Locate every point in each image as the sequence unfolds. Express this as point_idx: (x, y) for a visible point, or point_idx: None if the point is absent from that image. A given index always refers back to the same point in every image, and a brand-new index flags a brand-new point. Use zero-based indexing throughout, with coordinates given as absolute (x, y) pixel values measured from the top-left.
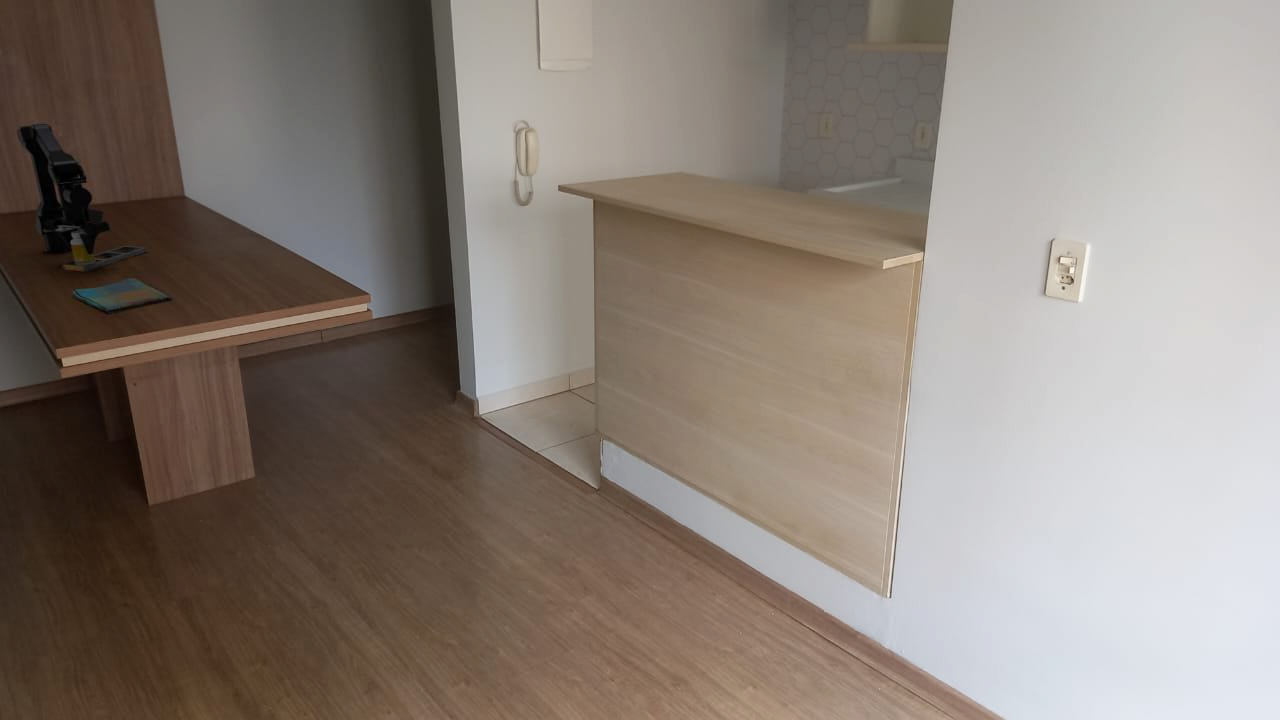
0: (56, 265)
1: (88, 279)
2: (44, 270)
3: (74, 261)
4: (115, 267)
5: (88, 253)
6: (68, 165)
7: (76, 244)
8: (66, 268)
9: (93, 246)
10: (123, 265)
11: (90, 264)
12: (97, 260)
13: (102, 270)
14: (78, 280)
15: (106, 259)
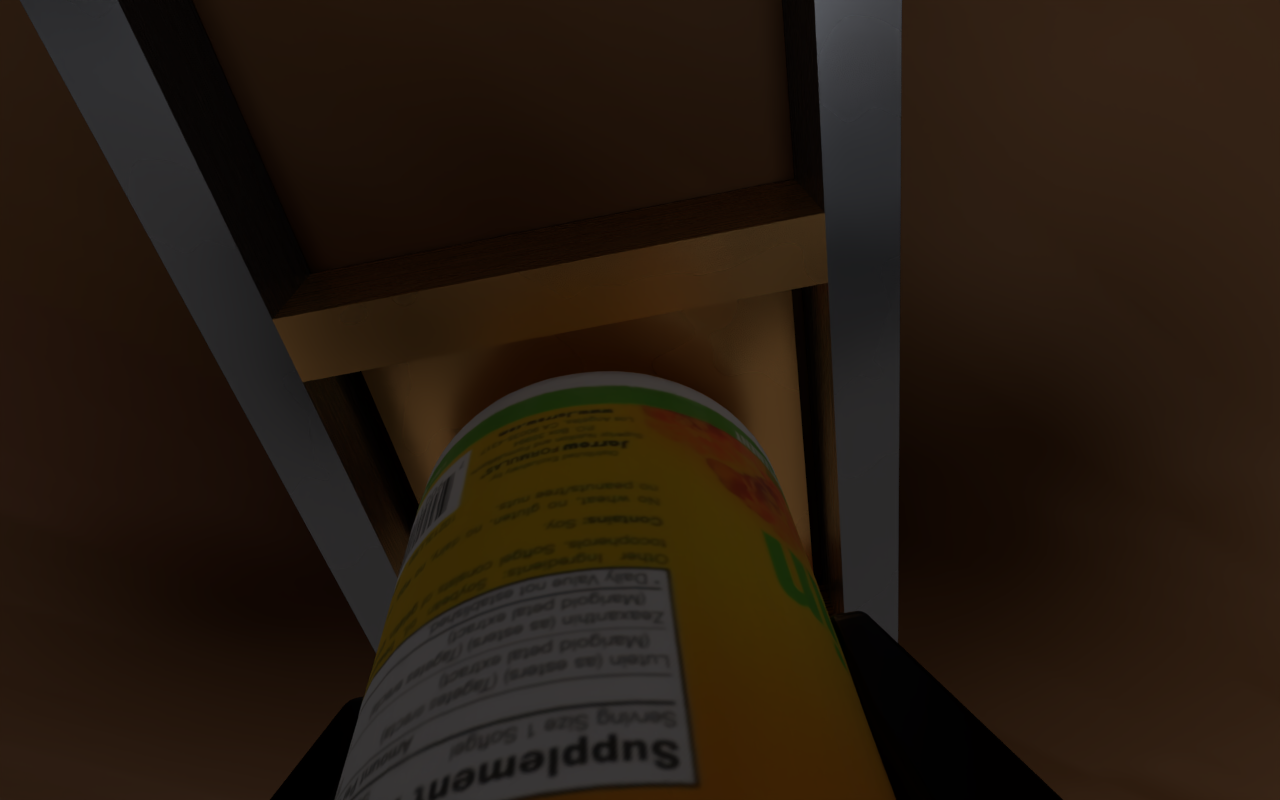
0: (79, 624)
1: (1178, 737)
2: (278, 783)
3: (388, 596)
4: (1159, 254)
5: None
6: None
7: None
8: None
9: (1023, 780)
10: (1236, 65)
11: (858, 573)
12: (637, 308)
13: (1058, 469)
14: (1087, 789)
15: (843, 211)
